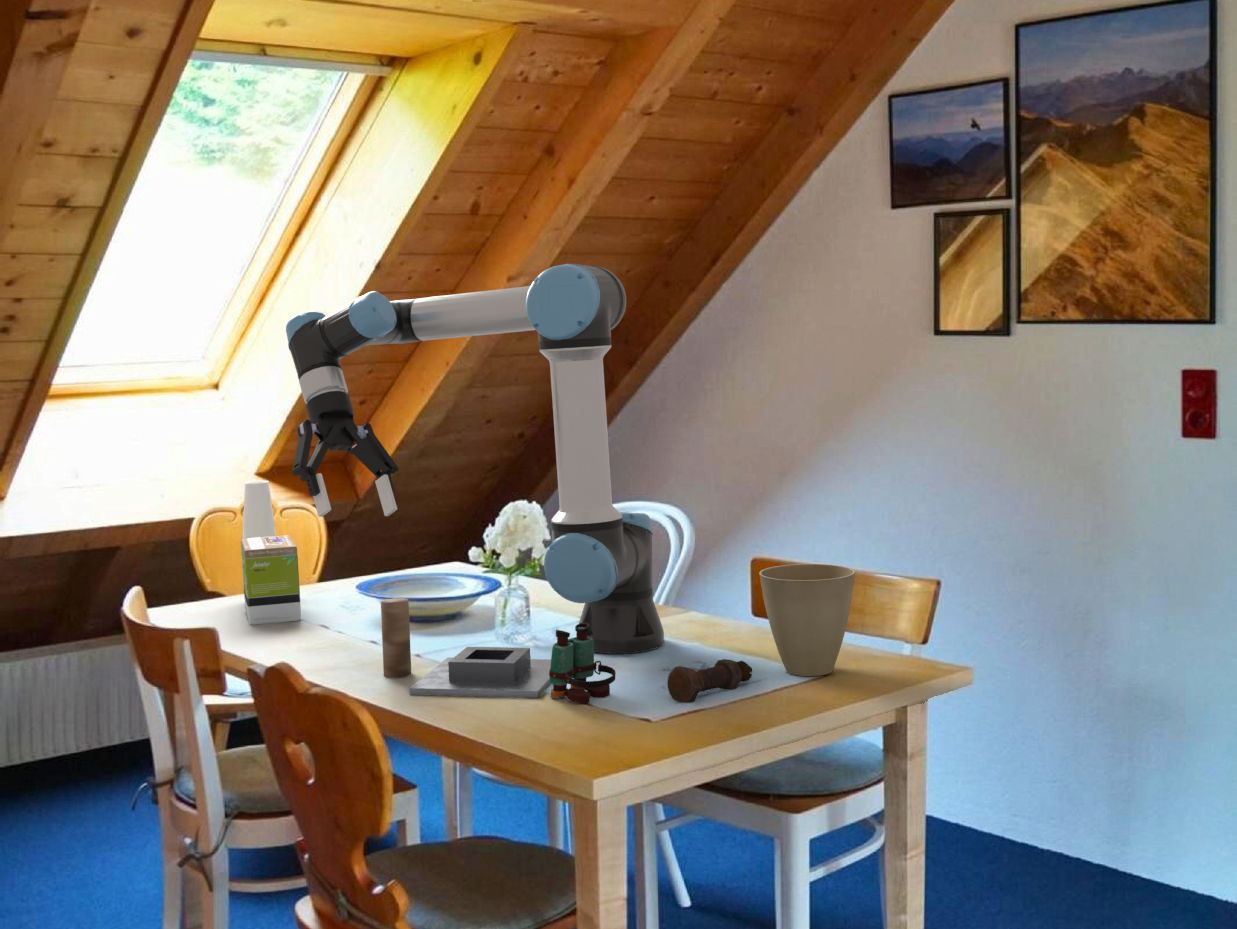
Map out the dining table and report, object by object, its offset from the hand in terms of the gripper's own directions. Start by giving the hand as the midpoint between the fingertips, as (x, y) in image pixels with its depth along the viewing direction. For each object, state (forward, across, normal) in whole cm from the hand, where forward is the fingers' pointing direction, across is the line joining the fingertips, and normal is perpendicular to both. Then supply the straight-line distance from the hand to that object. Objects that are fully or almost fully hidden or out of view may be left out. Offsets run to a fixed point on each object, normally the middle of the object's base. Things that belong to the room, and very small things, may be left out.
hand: (358, 513), depth 244 cm
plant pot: (+48, -42, +45) cm, 78 cm away
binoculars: (+43, -9, +28) cm, 52 cm away
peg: (+28, 0, -2) cm, 28 cm away
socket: (+34, -7, +11) cm, 36 cm away
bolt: (+48, -23, +40) cm, 67 cm away
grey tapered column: (-11, -25, -66) cm, 72 cm away
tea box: (-1, -15, -51) cm, 53 cm away
